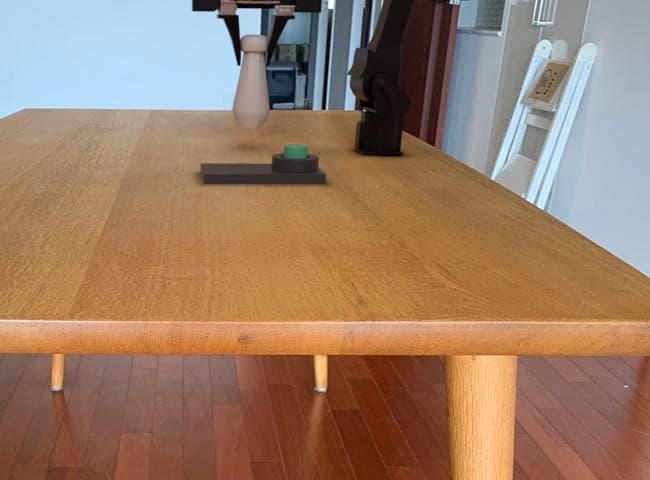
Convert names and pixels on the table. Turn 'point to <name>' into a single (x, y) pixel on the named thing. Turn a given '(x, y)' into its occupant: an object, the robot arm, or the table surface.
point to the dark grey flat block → (265, 172)
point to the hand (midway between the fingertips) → (253, 65)
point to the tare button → (295, 151)
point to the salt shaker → (252, 84)
